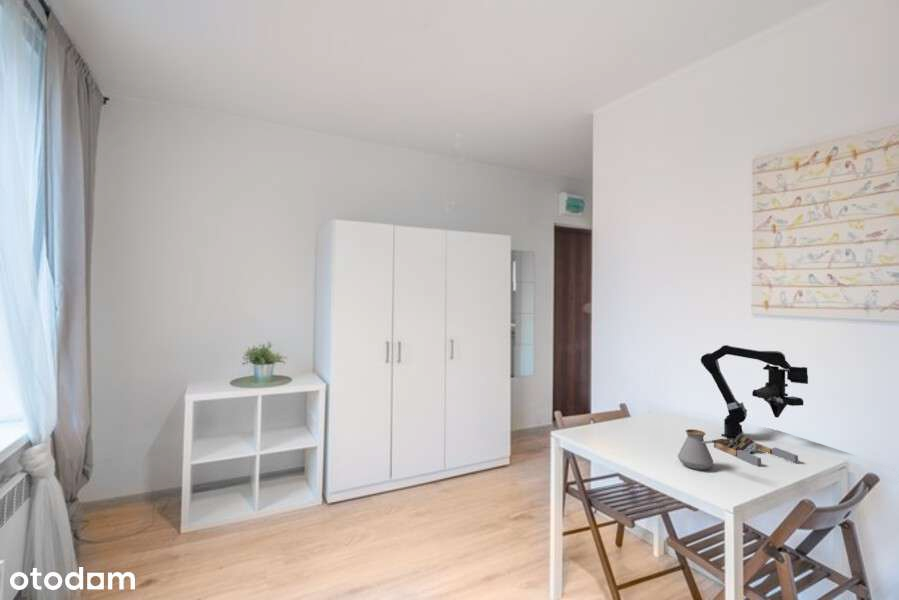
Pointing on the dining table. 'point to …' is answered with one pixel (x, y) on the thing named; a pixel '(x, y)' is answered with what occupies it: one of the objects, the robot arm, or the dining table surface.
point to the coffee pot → (697, 450)
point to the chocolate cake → (743, 444)
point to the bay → (757, 460)
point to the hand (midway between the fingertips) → (776, 417)
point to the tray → (733, 452)
